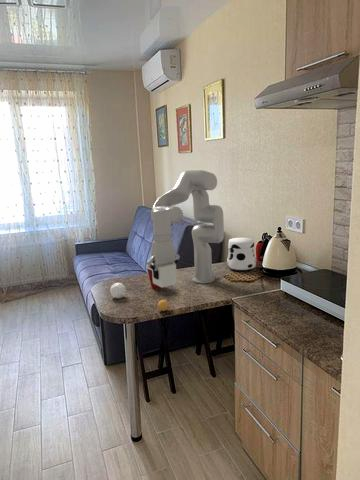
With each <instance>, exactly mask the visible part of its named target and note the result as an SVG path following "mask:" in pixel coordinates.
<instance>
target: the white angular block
mask: <svg viewBox="0 0 360 480" xmlns="http://www.w3.org/2000/svg"><path fill="white" fill-rule="evenodd" d="M151 264H152V265H153V264H154V263H151ZM157 270H158V273H159V279H158V280H157V279H155V278H154V277H153V270H152V278H153V283H154V284H156V285H158V286H160V287H162V288H166V287H169V286H174V285H177V284H178V282H177V281H178V280H177V279H178V278H177V264H172V263H171V262H170V263H166V264H161V265H159V267H158V269H157ZM162 288H161V289H162Z"/></svg>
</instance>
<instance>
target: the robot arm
mask: <svg viewBox="0 0 360 480" xmlns="http://www.w3.org/2000/svg"><path fill="white" fill-rule="evenodd" d="M217 178H218V177H217V176H216V174H215V173H213V172H210V171H207V170H204V169H203V170H202V169H201V170H185V171H183V172H181V173H180V175H179V176H178V179H177V181H176V182H175V184H174V186H173V188H172V189H171V190H168V191H167V192H166V193H164V194H162V195H161V196H159V197H158V198H157V199H156V201H155V202H154V204H153V205H152V208H151V210H150V218H151V220H152V231H153V241H152V242H151V249H150V258H149V259H148V260H147V261H146V264H147V265H148V266H149V267H150V268H151V269H152V270H153V277H154V278H155V279H157V280H158V279H159V273H158V270H157V269H158V267H159V265H161V264H166V263H170V262H171V263H172V264H176V265H177V264H178V263H179V262H178V261H179V260H180V258H181V256H180V255H179V254H178V253H176V251H175V245H174V242H173V241H174V240H173V239H172V237H174V233H173V232H172V226H171V225H172V224H173V225H174V224H178V223H181V221H182V219H183V217H184V213H183V210H182V209H181V208H180V207H179V206H175V205H178V204H182V203H184V202H186V201H187V200H188V199H189V198H190V195H191V196H192V197H191V198H192V204H193V205H192V209H193V219H194V220H195V222H197V223H203V224H197V225H194V226H193V227H192V229H191V238H192V241H193V242H192V243H193V251H194V253H193V258H194V260H193V261H194V263H193V264H194V276H193V277H192V278H191V280H192V282H193V283H196V284H202V285H203V284H210V283H211V284H212V283H213V282H214V281H215V279H216V278H215V277H214V276H216V275H219V271H218V270H216V271H214V270H213V269H212V266H213V265H212V263H213V262H212V248H211V246H210V244H213V243H214V244H219V243H222V242H223V240H224V238H225V237H224V236H225V235H224V234H225V225H224V212H223V208H222V207H221V206H220V205H216V204H210V198H209V194H208V192H207V191H213V190H215V189H216V187H217V186H218V179H217ZM204 223H205V224H204ZM209 243H210V244H209ZM152 264H153V265H152Z"/></svg>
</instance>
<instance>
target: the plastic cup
mask: <svg viewBox="0 0 360 480" xmlns="http://www.w3.org/2000/svg"><path fill="white" fill-rule="evenodd" d="M145 266H146V267H145V268H146V270H147V275H148V277H149V282H150V287H151V288H152V290H160V289H162V287H160V286H158V285H156V284H154V283H153V278H152V269H151V268H150V267H149V266H148V264H147V265H145Z"/></svg>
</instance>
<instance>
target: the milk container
mask: <svg viewBox="0 0 360 480" xmlns="http://www.w3.org/2000/svg"><path fill="white" fill-rule="evenodd" d="M227 246H228V247H227V248H228V250H227V251H228V253H227V254H228V255H227V258H226V263H227V264H226V265H227V268H229V269H230V270H232V271H237V272H239V271H240V272H247V271H251V270H253V269H255V267H256V262H257V261H256V260H257V259H256V255H255V240H254V239H253V238H250V237H233V238H230V239H228V245H227Z"/></svg>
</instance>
